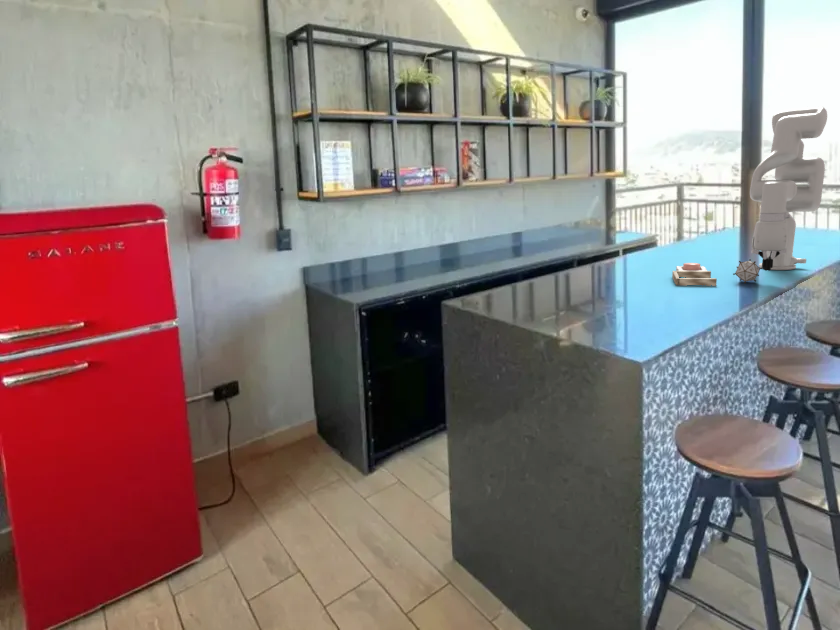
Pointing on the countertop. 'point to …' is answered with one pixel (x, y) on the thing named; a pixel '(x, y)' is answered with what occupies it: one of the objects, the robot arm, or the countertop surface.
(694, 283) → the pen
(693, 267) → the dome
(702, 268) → the collar
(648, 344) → the countertop surface
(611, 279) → the countertop surface
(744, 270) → the game die
